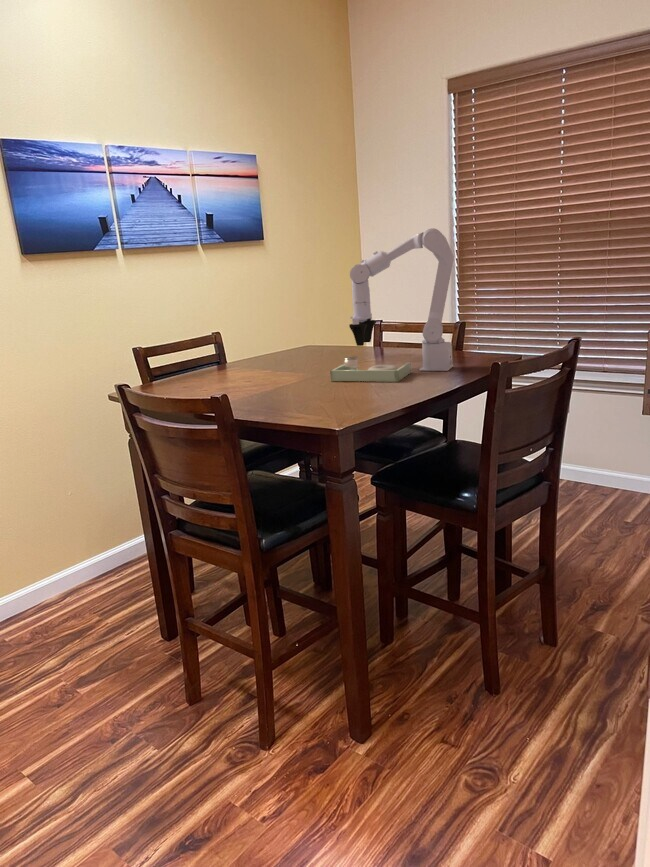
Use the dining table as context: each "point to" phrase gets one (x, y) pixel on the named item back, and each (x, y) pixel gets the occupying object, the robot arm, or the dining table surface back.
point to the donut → (383, 367)
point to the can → (351, 363)
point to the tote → (370, 374)
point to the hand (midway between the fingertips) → (363, 343)
